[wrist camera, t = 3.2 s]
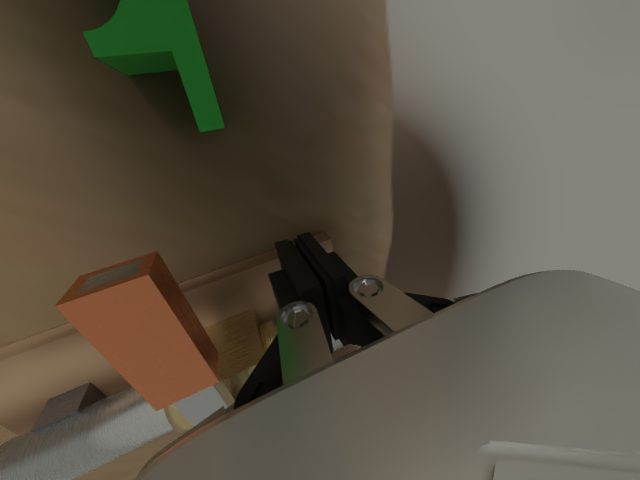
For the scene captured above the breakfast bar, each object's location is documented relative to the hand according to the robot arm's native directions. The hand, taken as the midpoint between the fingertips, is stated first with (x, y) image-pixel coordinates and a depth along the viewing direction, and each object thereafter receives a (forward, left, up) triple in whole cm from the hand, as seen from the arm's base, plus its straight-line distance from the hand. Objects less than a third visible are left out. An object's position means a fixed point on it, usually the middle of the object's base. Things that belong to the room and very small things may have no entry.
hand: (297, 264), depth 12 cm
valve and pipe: (+9, -8, -6) cm, 13 cm away
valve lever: (+4, -6, -1) cm, 7 cm away
